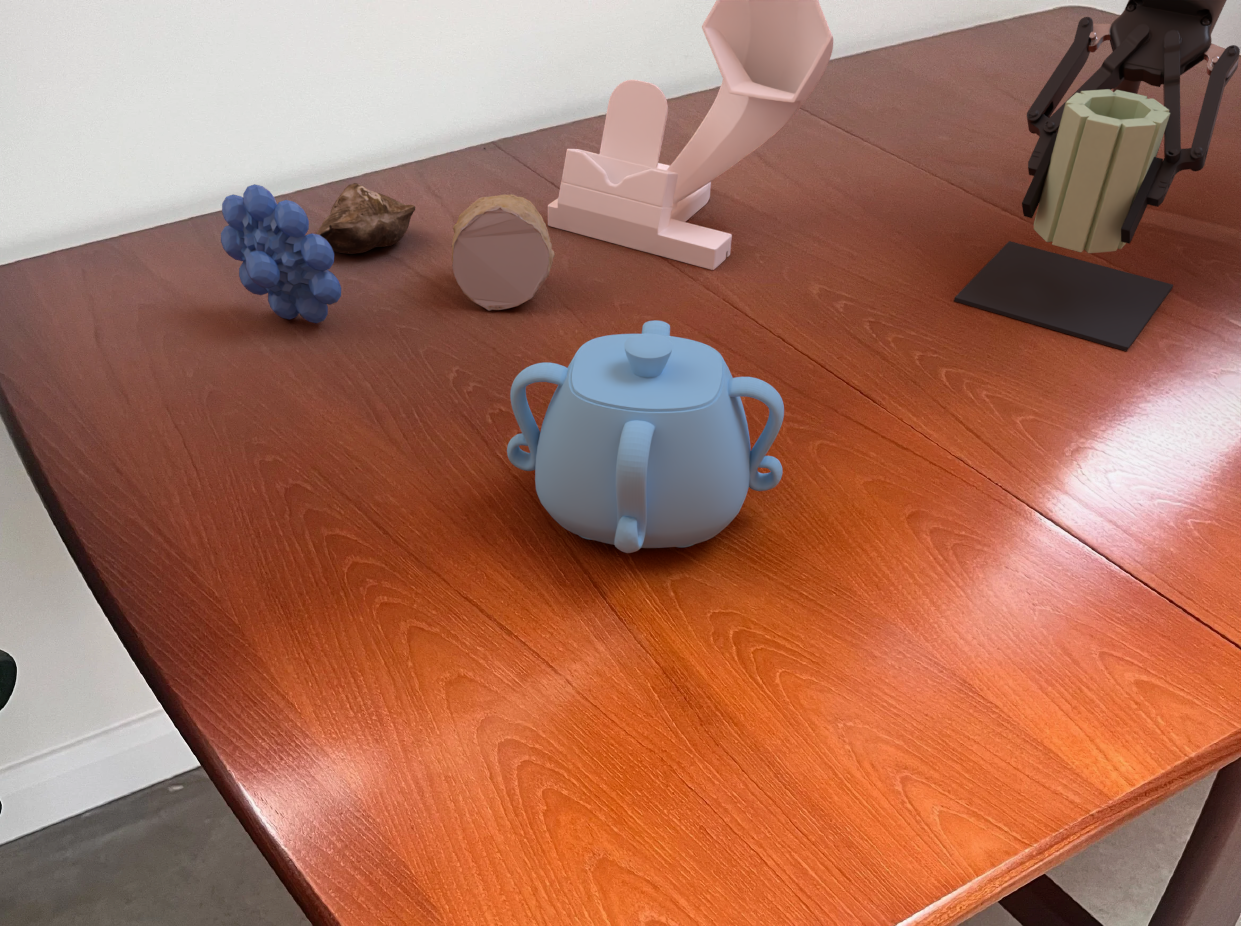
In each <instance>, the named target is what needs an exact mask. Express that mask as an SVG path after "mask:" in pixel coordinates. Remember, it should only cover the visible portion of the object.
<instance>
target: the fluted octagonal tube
mask: <svg viewBox="0 0 1241 926" xmlns="http://www.w3.org/2000/svg"><path fill="white" fill-rule="evenodd" d="M1074 93H1075V92H1074ZM1074 93H1073V94H1074ZM1073 94H1072V95H1073ZM1072 95H1071V96H1072ZM1071 96H1070V97H1071ZM1070 97H1069V98H1070ZM1069 98H1068V99H1069ZM1068 99H1067V100H1068ZM1067 100H1066V101H1067ZM1066 101H1065V102H1066ZM1169 116H1170V113H1169V109H1167V108H1166V107H1164V104H1163V103H1160V102H1159V101H1158V100H1156V99H1155V98H1148V96H1147V95H1143V94H1139V93H1137V94H1134V93H1130V92H1125V91H1120V90H1116V91H1115V92H1113V90H1112V89H1111V90H1110V89H1105V90H1090V91H1081V93H1075V94H1074V95H1073V96H1072V97H1071V98H1070V99H1069V100H1068V101H1067V102H1066V104H1065V107H1064V111H1063V115H1062V119H1061V123H1060V126H1059V130H1058V134H1057V138H1056V141H1055V145H1054V149H1053V153H1052V157H1051V161H1050V165H1049V168H1048V172H1047V176H1046V180H1045V183H1044V187H1043V191H1042V195H1041V199H1040V202H1039V204H1038V206H1037V209H1036V214H1035V216H1034V217H1035V218H1034V221H1033V225H1032V226H1033V230H1034V231H1035V232H1036V233H1037V234H1038V235H1039V236H1040V237H1041V238H1042V239H1043V240H1044V241H1045V242H1046V243H1051V242H1052V243H1051V245H1052V246H1056V247H1059V248H1063V249H1066V250H1071V251H1074V252H1078V253H1083V252H1084V251H1085V252H1086V253H1087V254H1098V253H1109V252H1117V251H1118V250H1122V249H1123V248H1124V247H1125V245H1126V244H1127V243H1124V242H1121V228H1122V225H1123V223H1124V221H1125V219H1126V217H1127V214H1128V212H1129V210H1130V208H1131V206H1132V204H1133V201H1134V199H1135V197H1136V195H1137V193H1138V190H1139V188H1140V186H1141V184H1142V182H1143V180H1144V178H1145V176H1146V173H1147V171H1148V169H1149V167H1150V165H1151V163H1152V160H1153V158H1154V157H1157V156H1158V153H1159V150H1160V147H1161V144H1162V140H1163V139H1164V132H1165V128H1166V125H1167V122H1168V119H1169Z"/></svg>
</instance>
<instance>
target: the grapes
mask: <svg viewBox="0 0 1241 926" xmlns="http://www.w3.org/2000/svg"><path fill="white" fill-rule="evenodd" d="M221 214H222V216H223V220H224V221H225V222H226V223H227V225H225V226H224V227H223V229H222V231H221V232H220V243H221V246H222V249H223V250H224V251H225V253H226V254H227V256H229V257H231V258H232V259H234V261H238V262H242V263H241V264H240V265H239V268H238V278H239V280H240V283H241V285H242V286H243V287H244V289H245V290H246V291H248V292H250V293H251V294H253V295H257V296H263V295H266V294H267V302H268V304H269V305H268V306H269V307H270V309H271V310H272V312H273V313H274V314H275V315H276V316H279V318H281V319H284V320H289V321H290V320H292V319H295V318H297V317H298V316H299V315H300V316H301V318H302V319H304V320H305V321H307V322H309V323H312V324H319V323H322V322H324V321H325V320H326V318H327V317H328V316H329V315H328V314H329V306H331V305H334V304H336V303H339V300H340V298H341V297H342V285H341V283H340V281H339V279H338V278H337V276H336V275H335V274H334V273H333V272H332V271H330V269H331V268H332V266H333V265H334V263H335V251H334V250H333V249H332V247H331V245H330V244H329V243H328V241H327V240H326V239H325V238H323V237H322V236H320V235H317V234H316V233H313V232H311V233H309V234H308V231H309V230H310V220H309V217H308V215H307V213H306V211H305V210H304V209H303V207H302V206H301V205H299V204H298V203H297V202H295V201H292V200H289V199H284V200H281V201H279V202H277V200H276V198H275V196H274V195H273V194H272V193H271V191H270V190H268V189H267V188H266V187H265V186H263V185H260V184H251V185H248V186H247V187H246V188H245V190H244V192H243V194H242V195H237V194H235V193H232V194H230V195H227V196H225V198H224V199H223V201H222V203H221Z"/></svg>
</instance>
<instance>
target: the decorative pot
mask: <svg viewBox="0 0 1241 926" xmlns="http://www.w3.org/2000/svg"><path fill="white" fill-rule="evenodd" d="M569 362H570V363H569V364H568V366H564V365H561V364H559V363H554V362H547V361H546V362H537V363H534V364H531V365H529V366H527V367H525V368H524V369H522V370H521V371H520V372H519V373H518V374H517V375H516V376H515V378H514V380H513V382H512V384H511V387H510V393H509V398H510V405H511V409H512V412H513V415H514V418H515V420H516V423H517V425H518V427H519V429H520V431H521V432H520V433H517V434H515V435H513V436H512V437H511V438H510V440H509V441H508V444H507V447H506V448H507V449H506V453H507V458H508V460H509V462H510V463H511V465H513V466H514V467H515V468H516V469H519V470H522V471H525V472H532V471H534V474H535V475H534V482H535V493H536V494H537V497H538V499H539V502H540V504H541V505H542V506H543V508H544V509H545V510H546V512H547V513H548V514H549V515H550V516H551V518H552V519H553V520H554V521H555V522H557V524H558V525H560V526H561V527H562V528H563V529H565V530H567V531H569V532H570V533H572V534H574V535H578V536H579V537H580V538H582V539H585V540H588V541H589V540H591V541H596V542H600V543H604V544H609V545H614V547H615V548H616V549H617V550H618V551H620V552H623V553H625V554H632V553H635V552H638V551H639V550H640V549H664V548H688V547H692V546H694V545H696V544H700V543H703V542H706V541H709V540H710V539H713V538H714V537H716V536H717V535H719V534H720V533H721V532H723V530H725V529H726V528H727V527H728V526H729V525H730V524H731V522H733V520H735V518H736V517H737V516H738V515H739V513H740V511H741V508H742V507H743V505H744V502H745V500H746V498H747V494H748V493H749V492H748V491H749V489H750V490H752V491H754V492H766V491H770V490H772V489H774V488H776V487H777V485H779V483H780V482H781V480H782V477H783V473H784V472H783V465H782V463H781V462H780V460H779V459H778V458H776V456H772V455H767V454H768V452H769V451H770V449H771V447H772V445H773V444H774V442H775V440H776V438H777V436H778V434H779V433H780V430H781V427H782V425H783V422H784V417H785V406H784V401H783V398H782V396H781V394H780V393H779V392H778V390H776V388H775V387H774V386H773V385H771V384H770V383H768V382H766V381H765V380H762V379H760V378H757V377H752V376H735V377H733V375H732V372H731V371H730V368H729V366H728V364H727V362H726V361H725V359H724V357H723V355H722V354H721V352H719V351H718V350H717V349H715V348H714V347H712V346H710V345H709V344H705V343H703V342H701V341H697V340H694V339H690V338H685V337H679V336H675V335H674V336H673V335H671V325H670V324H669V323H668V322H666V321H663V320H654V319H653V320H648V321H645V322H644V323H643V325H642V328H641V333H619V334H609V335H603V336H598V337H595V338H592V339H590V340H588V341H586V342H585V343H583V344H582V345H581V346H580V347H579V348H578V350H577V351H576V352H575V354H574V355H573V357H572V359H571V361H569ZM535 383H549V384H554V385H557V386H556V389H555V391H554V392H553V395H552V397H551V399H550V402H549V403H548V406H547V408H546V411H545V415H544V418H543V421H542V424H541V428H539V426H538V424H537V422H536V420H535V417H534V415H533V412H532V410H531V408H530V405H529V401H528V397H527V391H526V389H527V387H528V386H529V385H532V384H535ZM742 397H743V398H744V397H745V398H752V399H755V400H757V401H759V402H762V403H763V404H764V405H765V406H766V407H767V408H768V412H769V413H768V417H767V421H766V423H765V426H764V428H763V430H762V432H761V433H760V435H759V436H758V438H757V440H756V441H755V443H754V445H753V447H752V448H751V439H750V432H749V431H750V429H749V425H748V420H747V415H746V411H745V408H744V404H743V400H742ZM520 446H525V447H528V450H529V452H527V451H524V450H523V449H521V447H520ZM758 469H768V470H769V471H770V472H766V473H765V472H763V473H762V472H759V471H758Z"/></svg>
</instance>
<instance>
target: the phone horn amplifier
mask: <svg viewBox="0 0 1241 926" xmlns="http://www.w3.org/2000/svg"><path fill="white" fill-rule="evenodd" d="M826 18H827V17H826V16H825V13H824V11H823V9H822V6H821V4H820V1H819V0H715V2H714V4H713V5H712V7H711V9H710V10H709V12H708V14H707V16H706V18H705V20H704V21H703V23H702V24H701V29H702V32H703V34H704V37H705V39H706V41H707V43H708V46H709V48H710V51H711V53H712V56H713V58H714V61H715V63H716V65H717V69H718V70H719V72H720V75H721V77H722V82H721V84H720V87H719V90H718V92H717V95H716V97H715V99H714V101H713V103H712V105H711V107H710V109H708V112H707V113H706V115H705V117H704V118H703V120H702V121H701V123H700V124H699V125H698V128H697V129H696V131H695V132H694V134H693V135H692V136H691V138H690V139H689V141H688V142H687V143H686V144H685V146H684V147H683V148H682V150H681V151H680V152H679V154H678V155H677V157H676V158H675V159H674V160H673V161H672V163H671V164H665V163H661V162H659V161H660V156H661V152H662V151H661V150H662V146H663V141H664V136H665V130H666V125H667V119H668V114H669V107H668V106H669V105H668V101H667V97H666V95H665V94H664V92H663V90H662V89H661V88H660V87H659V86H658V85H656V84H655V83H652V82H649V81H643V80H639V79H627V80H624V81H621V82H620V83H619V84H617V86H616V87H615V88H614V89H613V91H612V92H611V94H610V97H609V99H608V104H607V110H606V115H605V121H604V126H603V132H602V137H601V143H600V150H599V153H595V152H592V151H587V150H584V149H580V148H567V149H566V151H565V152H566V153H565V158H564V164H563V170H562V177H561V182H560V186H559V192H558V197H557V198H556V199H554V200H553V201H552V202H550V203H548V204H547V226H548V227H551V228H556V229H559V230H563V231H567V232H570V233H574V234H578V235H581V236H585V237H589V238H592V239H597V240H600V241H603V242H607V243H611V244H614V245H619V246H622V247H626V248H629V249H633V250H637V251H641V252H644V253H647V254H651V255H656V256H659V257H663V258H667V259H670V260H674V261H678V262H681V263H685V264H688V265H693V266H695V267H699V268H703V269H708V270H711V271H714V270H715V269H717V268H718V267H719V266H720V265H721V264H722V263H724V261H726V259H727V258H729V257H730V256H731V249H732V238H733V234H732V233H729V232H725V231H721V230H717V229H714V228H710V227H705V226H701V225H698V224H694V223H690V222H687V221H688V220H690V218H692V217H693V216H694V215H695V214H697V212H699V211H700V210H701V209H702V208H704V206H706V205H707V204H708V203H709V200H710V199H711V186H712V182H713V181H715V180H716V179H717V178H720V176H722V175H723V174H725V173H726V172H727V171H729V170H730V169H732V168H733V167H734V166H735V165H737V164H738V163H739V162H741V161H742V160H743V159H745V158H746V157H748V156H749V155H750V154H752V153H753V152H755V151H757V150H758V149H759V148H760V147H761V146H763V145H764V144H765V143H767V141H769V140H770V139H771V138H773V137H774V136H776V135H777V133H778V132H780V131H781V130H782V129H783V128H784V127H785V125H787V124H788V123H789V122H790V121H791V119H792V118H793V117H794V116H795V115H796V114H797V112H798V111H800V109H801V108H802V106H803V105H804V104H805V102H806V101H807V100H808V99H809V97H810V96H811V94H812V93H813V92H814V90H815V89H816V87H817V86H818V84H819V83H820V80H821V79H822V77H823V75H824V73H825V72H826V69H827V67H828V65H829V63H830V61H831V58H832V53H833V51H834V50H833V49H834V36H833V34H832V30H831V29H830V26H829V24H828V20H827V19H826Z"/></svg>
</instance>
